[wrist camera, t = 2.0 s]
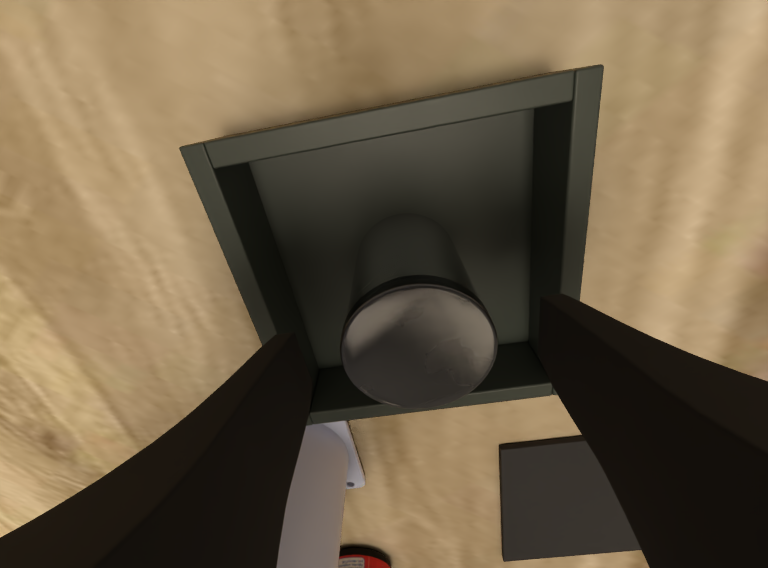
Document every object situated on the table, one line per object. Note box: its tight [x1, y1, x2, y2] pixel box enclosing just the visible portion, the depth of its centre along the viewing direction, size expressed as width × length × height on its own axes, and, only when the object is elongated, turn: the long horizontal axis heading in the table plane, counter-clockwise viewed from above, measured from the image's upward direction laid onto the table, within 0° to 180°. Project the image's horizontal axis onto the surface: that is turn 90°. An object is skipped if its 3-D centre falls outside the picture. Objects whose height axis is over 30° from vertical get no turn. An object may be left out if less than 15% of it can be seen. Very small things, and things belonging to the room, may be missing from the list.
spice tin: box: [340, 213, 498, 409], centre depth 13 cm, size 4×4×6 cm
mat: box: [499, 436, 641, 562], centre depth 25 cm, size 14×14×1 cm
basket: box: [179, 64, 604, 426], centre depth 15 cm, size 13×13×4 cm
